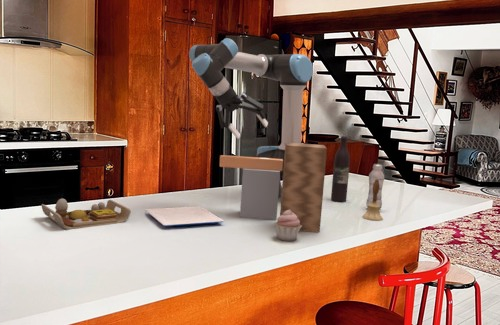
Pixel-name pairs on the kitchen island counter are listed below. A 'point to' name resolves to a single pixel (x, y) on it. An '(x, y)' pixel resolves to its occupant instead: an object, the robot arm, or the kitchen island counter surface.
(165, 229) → the kitchen island counter surface
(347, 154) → the wine bottle
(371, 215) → the hand bell
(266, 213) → the grey rectangular block
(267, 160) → the bar
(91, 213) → the toy food set
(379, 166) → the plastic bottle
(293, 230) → the cupcake
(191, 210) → the plate
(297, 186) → the tall wooden block
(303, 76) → the robot arm
